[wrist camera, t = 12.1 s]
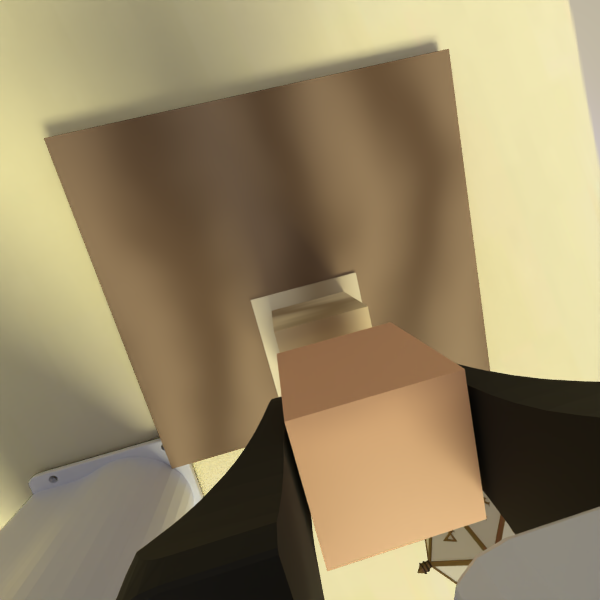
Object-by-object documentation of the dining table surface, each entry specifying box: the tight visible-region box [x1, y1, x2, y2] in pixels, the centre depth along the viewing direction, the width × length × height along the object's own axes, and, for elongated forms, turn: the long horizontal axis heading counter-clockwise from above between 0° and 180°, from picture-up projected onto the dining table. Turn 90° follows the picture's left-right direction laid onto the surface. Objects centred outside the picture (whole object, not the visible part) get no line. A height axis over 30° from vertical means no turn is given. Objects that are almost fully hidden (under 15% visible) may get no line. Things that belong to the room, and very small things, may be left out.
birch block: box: [272, 291, 372, 353], centre depth 17 cm, size 4×4×4 cm
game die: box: [418, 490, 515, 584], centre depth 20 cm, size 9×8×10 cm
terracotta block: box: [277, 322, 487, 571], centre depth 10 cm, size 4×4×4 cm
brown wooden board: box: [44, 49, 490, 469], centre depth 19 cm, size 22×20×1 cm
